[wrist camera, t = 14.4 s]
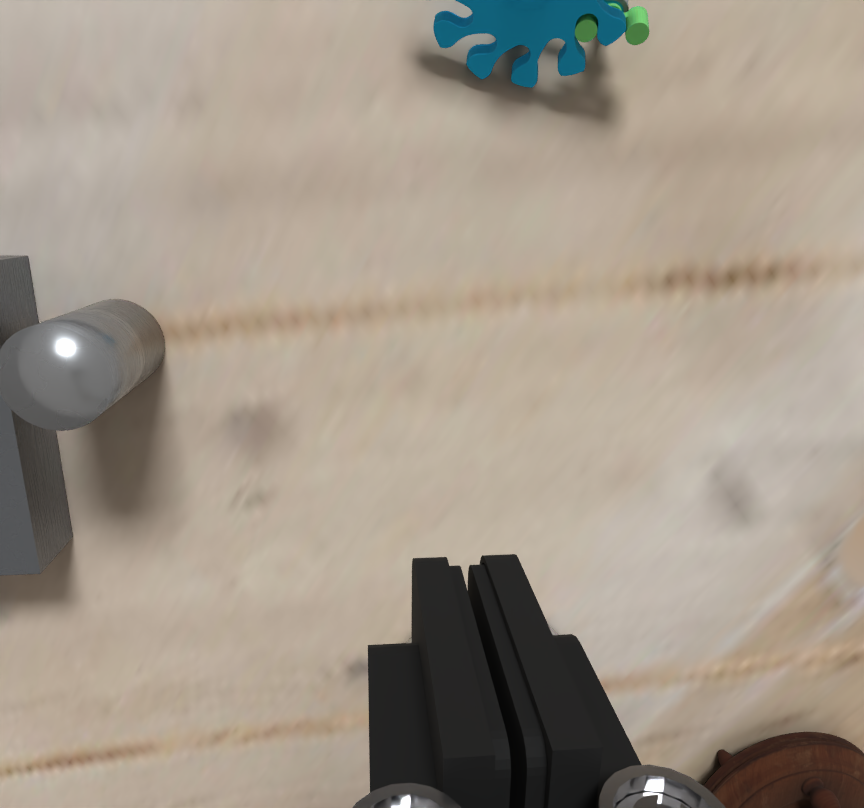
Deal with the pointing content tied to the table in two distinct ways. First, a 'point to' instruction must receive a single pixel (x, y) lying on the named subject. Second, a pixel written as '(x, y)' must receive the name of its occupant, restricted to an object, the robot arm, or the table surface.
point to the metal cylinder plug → (79, 363)
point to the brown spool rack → (791, 774)
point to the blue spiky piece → (539, 31)
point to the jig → (27, 454)
